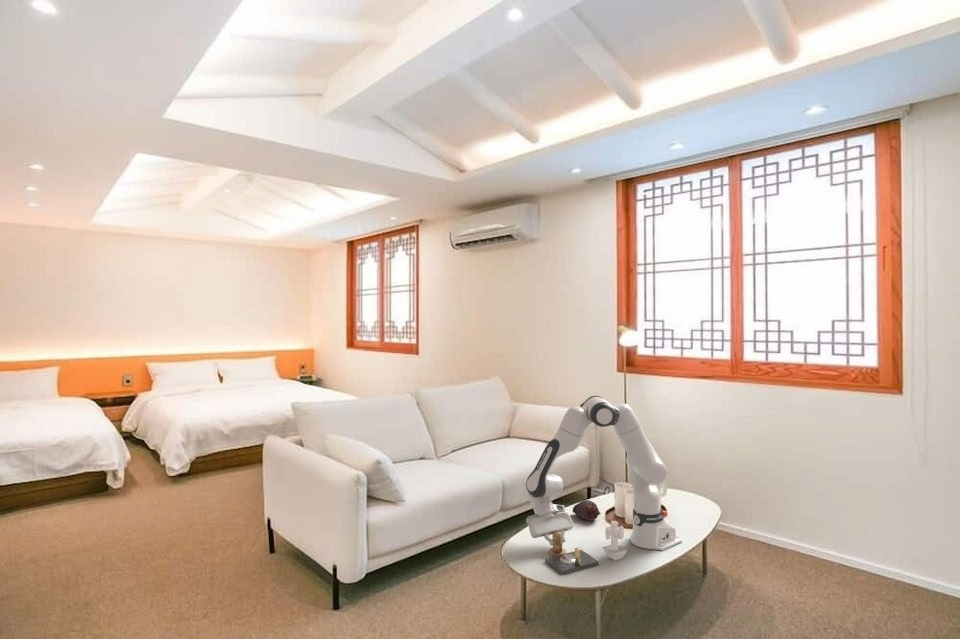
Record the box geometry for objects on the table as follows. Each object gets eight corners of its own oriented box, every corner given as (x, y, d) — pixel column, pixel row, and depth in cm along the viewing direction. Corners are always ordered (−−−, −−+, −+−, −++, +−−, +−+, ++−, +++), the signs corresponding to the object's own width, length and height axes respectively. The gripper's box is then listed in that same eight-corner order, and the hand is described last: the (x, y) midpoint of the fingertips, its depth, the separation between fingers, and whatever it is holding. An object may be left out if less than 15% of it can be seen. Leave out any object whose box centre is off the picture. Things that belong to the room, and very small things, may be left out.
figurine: (613, 551, 226) (612, 516, 226) (629, 559, 218) (628, 523, 217) (600, 555, 222) (599, 519, 222) (616, 564, 214) (615, 527, 214)
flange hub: (559, 548, 229) (559, 528, 229) (569, 554, 223) (568, 534, 223) (546, 551, 226) (545, 531, 226) (555, 558, 220) (554, 538, 220)
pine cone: (565, 517, 264) (568, 497, 269) (579, 523, 269) (582, 503, 273) (591, 517, 251) (594, 496, 256) (605, 524, 255) (608, 503, 260)
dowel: (578, 562, 213) (577, 547, 213) (581, 564, 211) (580, 549, 211) (573, 563, 212) (573, 548, 212) (576, 565, 210) (576, 550, 210)
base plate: (581, 553, 224) (581, 549, 224) (599, 565, 214) (598, 561, 213) (545, 562, 217) (544, 558, 217) (561, 574, 206) (561, 570, 206)
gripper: (527, 513, 227) (539, 544, 218) (567, 505, 235) (580, 535, 226) (522, 520, 231) (534, 551, 222) (562, 512, 239) (575, 541, 230)
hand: (558, 543), depth 224 cm, fingers closed on flange hub, 4 cm apart
